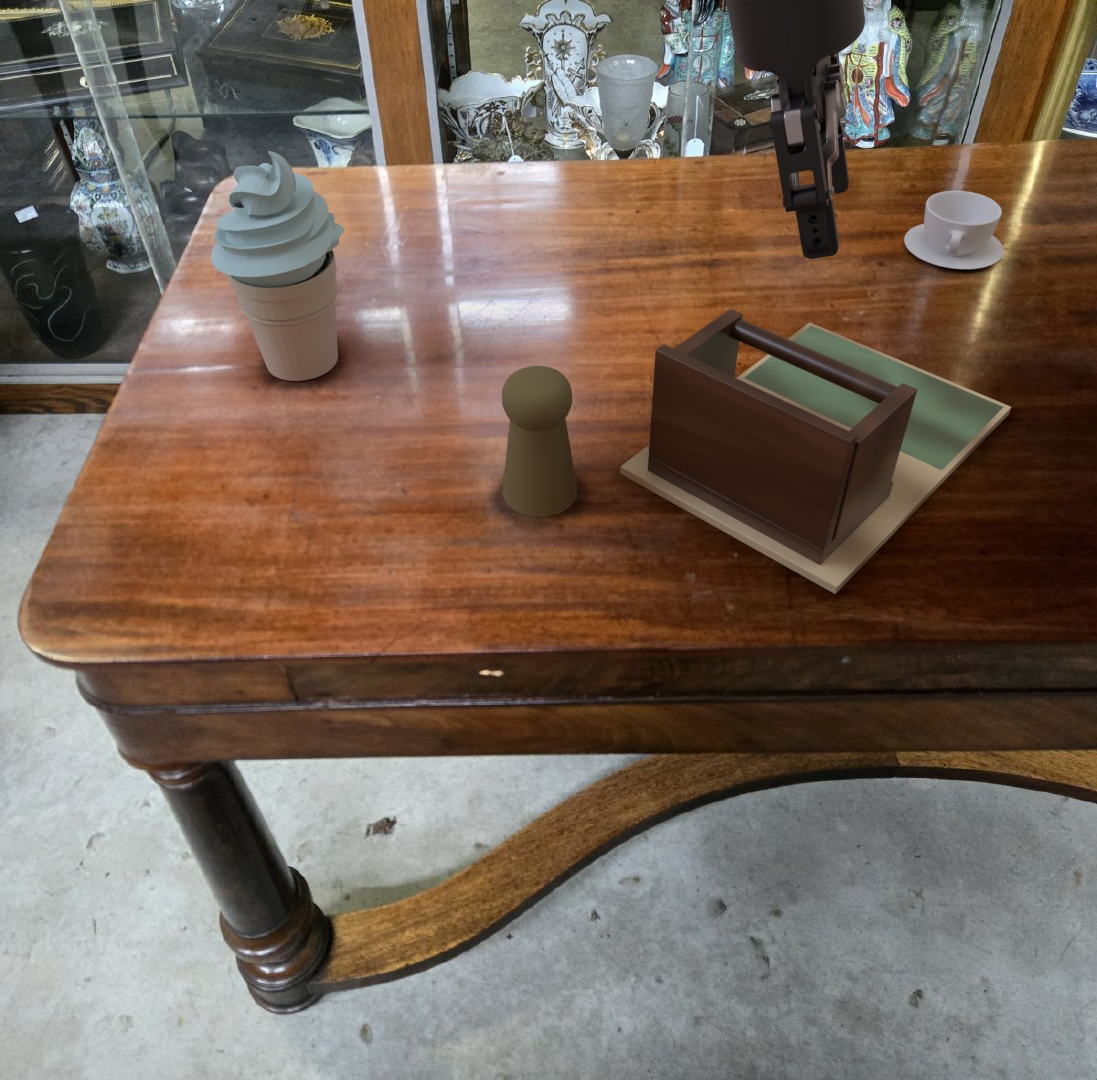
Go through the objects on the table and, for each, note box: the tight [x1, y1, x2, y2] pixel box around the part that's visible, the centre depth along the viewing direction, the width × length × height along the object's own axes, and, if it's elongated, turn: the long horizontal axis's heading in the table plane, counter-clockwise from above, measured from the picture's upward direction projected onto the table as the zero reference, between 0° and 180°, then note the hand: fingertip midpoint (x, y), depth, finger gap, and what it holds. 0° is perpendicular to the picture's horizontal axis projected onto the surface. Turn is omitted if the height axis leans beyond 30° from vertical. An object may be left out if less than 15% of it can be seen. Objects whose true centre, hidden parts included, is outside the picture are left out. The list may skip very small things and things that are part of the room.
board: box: [619, 322, 1012, 595], centre depth 86 cm, size 28×20×1 cm
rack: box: [648, 308, 917, 565], centre depth 78 cm, size 10×16×12 cm, turn 48°
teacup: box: [903, 190, 1005, 270], centre depth 107 cm, size 10×10×5 cm
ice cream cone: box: [210, 150, 345, 382], centre depth 89 cm, size 10×11×20 cm
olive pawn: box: [501, 365, 579, 518], centre depth 79 cm, size 6×6×11 cm
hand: (827, 221), depth 69 cm, fingers open, 8 cm apart
